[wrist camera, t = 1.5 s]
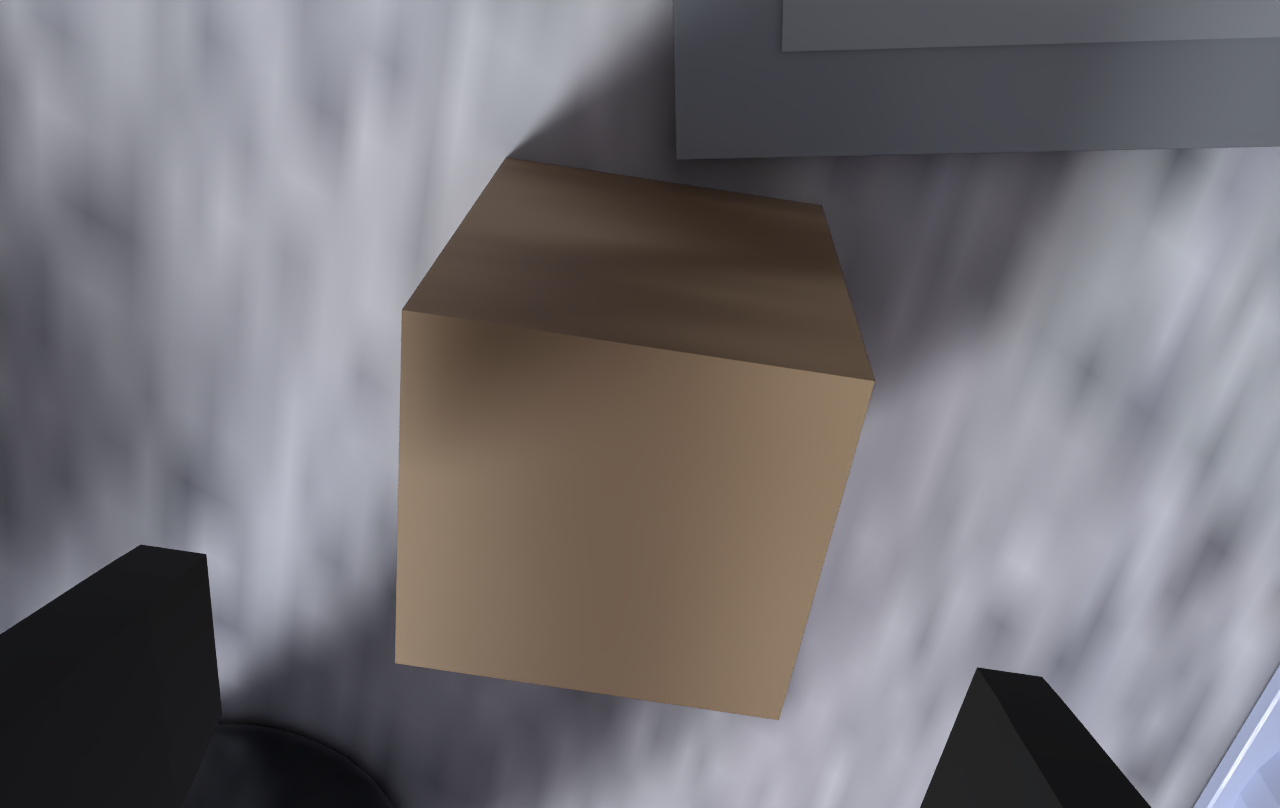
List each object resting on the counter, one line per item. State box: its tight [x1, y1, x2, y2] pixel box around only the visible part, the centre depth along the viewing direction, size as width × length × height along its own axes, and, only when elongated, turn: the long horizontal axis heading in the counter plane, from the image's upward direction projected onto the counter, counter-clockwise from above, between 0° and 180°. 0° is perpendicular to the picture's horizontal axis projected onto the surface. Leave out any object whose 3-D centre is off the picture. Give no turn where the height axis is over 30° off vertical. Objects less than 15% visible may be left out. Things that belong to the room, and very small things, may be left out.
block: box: [395, 157, 875, 720], centre depth 14 cm, size 5×5×6 cm
